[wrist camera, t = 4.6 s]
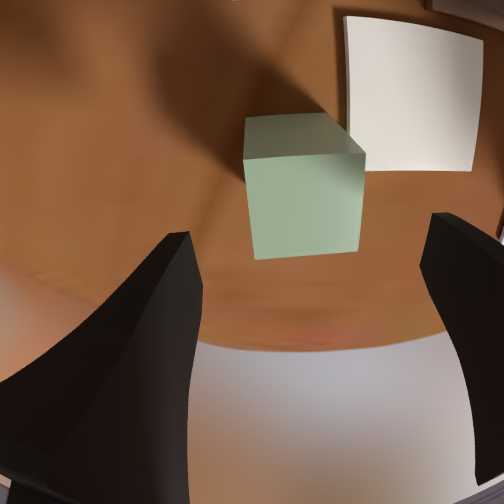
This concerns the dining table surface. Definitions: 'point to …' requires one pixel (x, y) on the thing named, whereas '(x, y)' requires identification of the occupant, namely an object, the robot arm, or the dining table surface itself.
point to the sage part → (302, 185)
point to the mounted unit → (471, 11)
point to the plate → (412, 94)
